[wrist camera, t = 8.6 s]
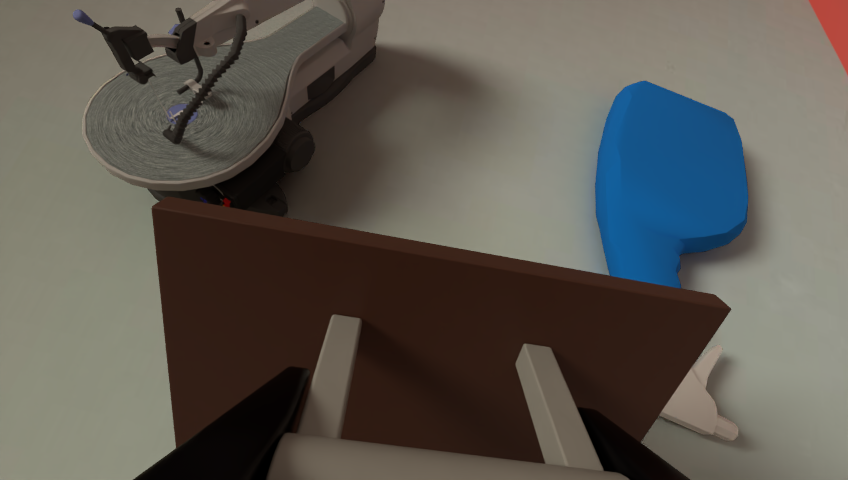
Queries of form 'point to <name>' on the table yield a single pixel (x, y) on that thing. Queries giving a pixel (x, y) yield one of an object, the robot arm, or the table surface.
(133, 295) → the table surface
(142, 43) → the scroll saw
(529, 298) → the lid
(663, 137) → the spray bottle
